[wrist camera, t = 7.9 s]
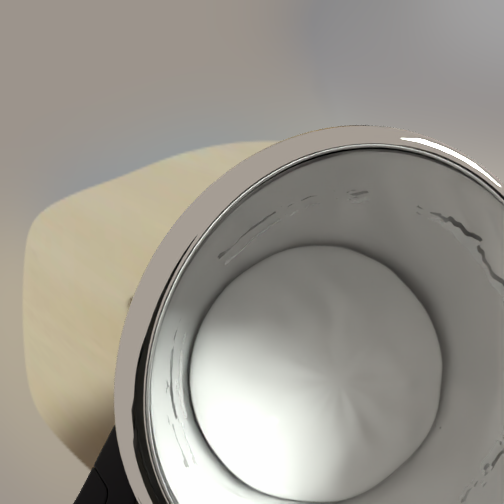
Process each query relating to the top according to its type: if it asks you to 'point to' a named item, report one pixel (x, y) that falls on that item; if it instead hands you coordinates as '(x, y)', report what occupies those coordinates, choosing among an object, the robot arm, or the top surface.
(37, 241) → the top surface
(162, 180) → the top surface
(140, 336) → the silver metal tumbler
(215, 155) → the top surface
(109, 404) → the top surface
